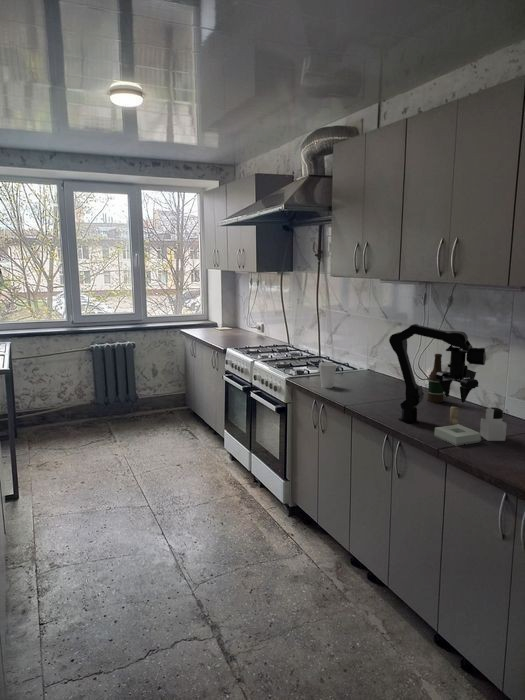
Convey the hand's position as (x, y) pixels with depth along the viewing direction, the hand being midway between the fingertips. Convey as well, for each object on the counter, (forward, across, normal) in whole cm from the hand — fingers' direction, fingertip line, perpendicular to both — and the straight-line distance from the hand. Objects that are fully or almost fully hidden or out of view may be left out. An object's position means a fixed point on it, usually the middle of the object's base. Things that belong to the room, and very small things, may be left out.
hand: (455, 399), depth 211 cm
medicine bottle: (+13, -15, -6) cm, 21 cm away
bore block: (+12, -11, +8) cm, 18 cm away
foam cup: (+12, +83, +14) cm, 85 cm away
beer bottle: (+13, +37, -22) cm, 45 cm away
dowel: (+12, 0, 0) cm, 13 cm away
